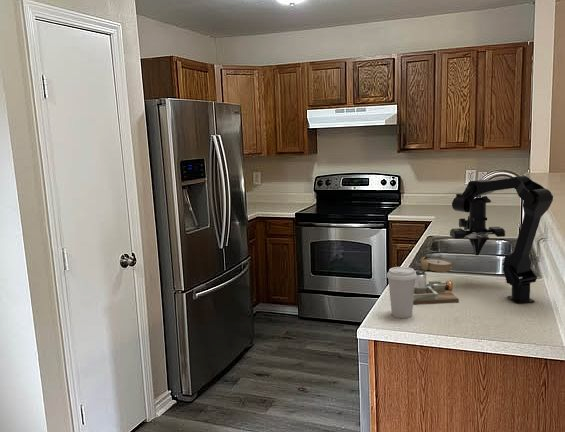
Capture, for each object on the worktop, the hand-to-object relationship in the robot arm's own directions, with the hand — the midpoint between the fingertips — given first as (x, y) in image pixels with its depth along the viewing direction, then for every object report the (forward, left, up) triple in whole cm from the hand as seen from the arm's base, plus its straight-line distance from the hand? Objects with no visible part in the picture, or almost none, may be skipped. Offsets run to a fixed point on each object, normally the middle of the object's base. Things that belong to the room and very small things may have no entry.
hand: (476, 255), depth 190 cm
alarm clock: (+27, +8, -12) cm, 31 cm away
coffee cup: (-26, +35, -12) cm, 45 cm away
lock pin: (-6, +16, -12) cm, 21 cm away
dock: (-10, +21, -12) cm, 26 cm away
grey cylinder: (-12, +24, -11) cm, 29 cm away
